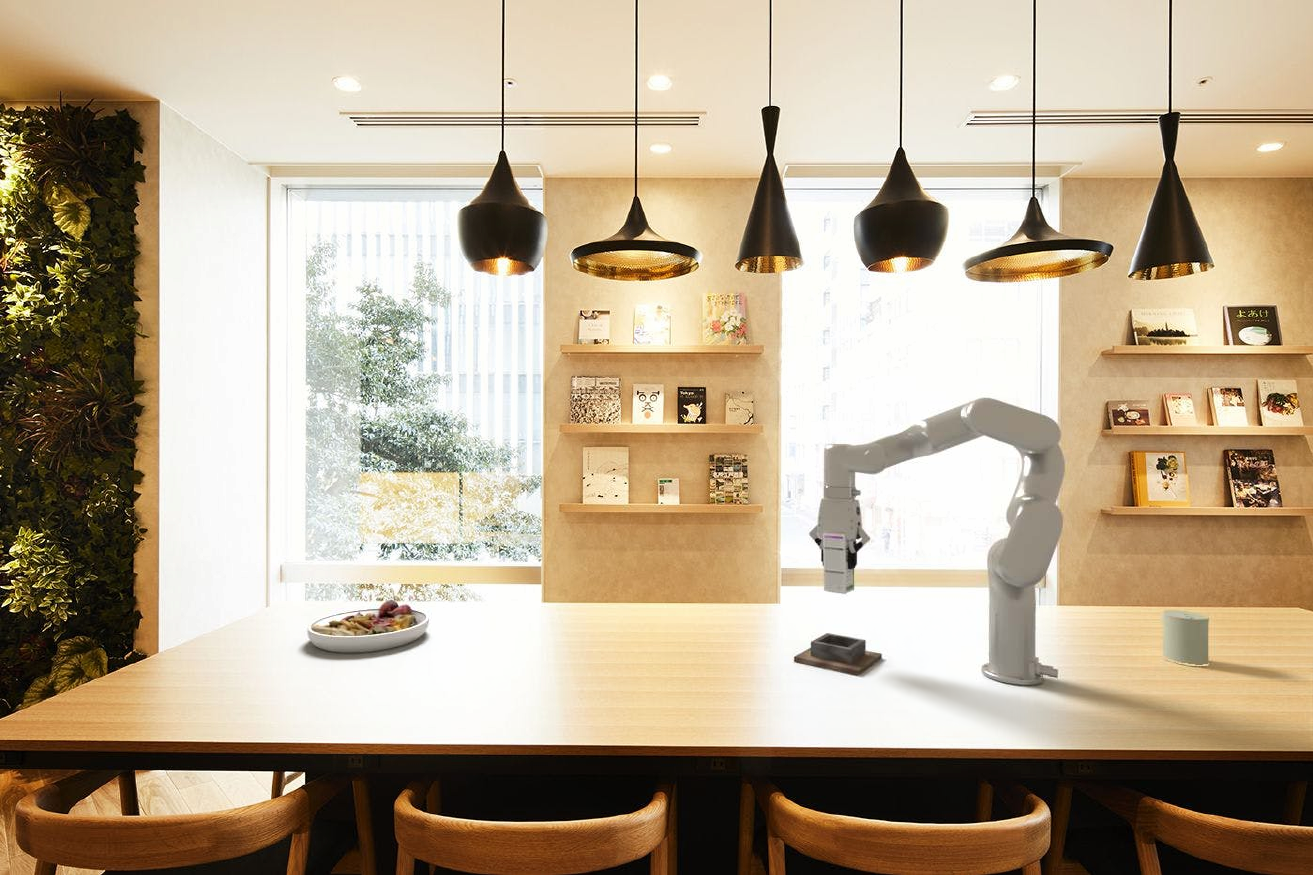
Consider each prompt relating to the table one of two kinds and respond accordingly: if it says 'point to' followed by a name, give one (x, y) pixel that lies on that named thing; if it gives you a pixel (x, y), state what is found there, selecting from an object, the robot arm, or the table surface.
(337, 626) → the bowl
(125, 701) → the table surface
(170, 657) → the table surface
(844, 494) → the robot arm
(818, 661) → the holder
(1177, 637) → the can
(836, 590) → the syrup box
